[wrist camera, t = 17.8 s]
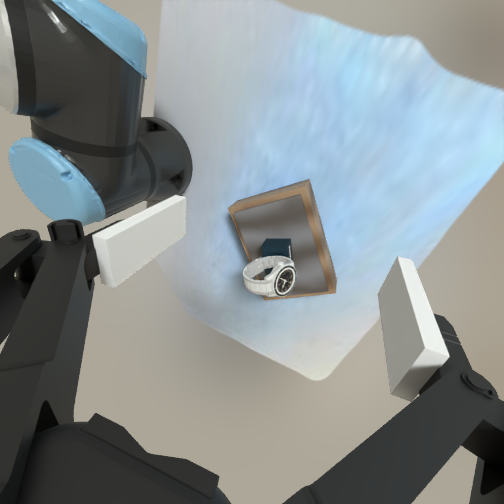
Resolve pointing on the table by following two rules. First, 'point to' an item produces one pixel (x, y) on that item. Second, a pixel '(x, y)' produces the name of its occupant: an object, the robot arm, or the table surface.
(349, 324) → the table surface
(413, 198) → the table surface
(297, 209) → the riser
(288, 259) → the watch
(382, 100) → the table surface
